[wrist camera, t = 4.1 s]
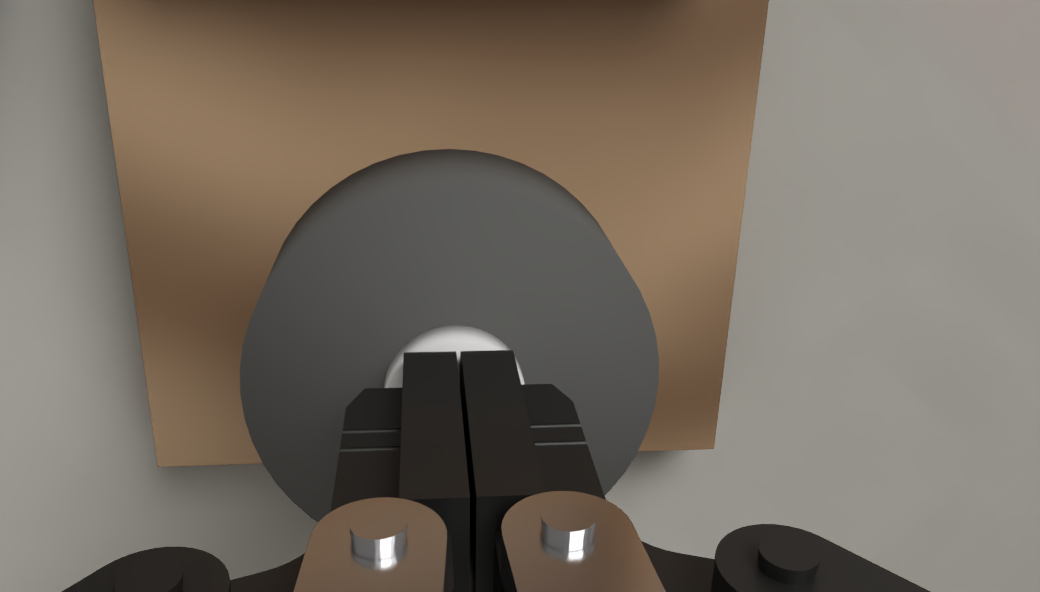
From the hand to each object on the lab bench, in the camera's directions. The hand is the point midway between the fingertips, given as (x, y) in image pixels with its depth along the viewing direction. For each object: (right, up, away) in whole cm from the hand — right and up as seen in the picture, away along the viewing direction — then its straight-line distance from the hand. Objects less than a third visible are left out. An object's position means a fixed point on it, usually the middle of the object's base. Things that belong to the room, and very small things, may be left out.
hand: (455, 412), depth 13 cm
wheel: (0, +1, +3) cm, 3 cm away
